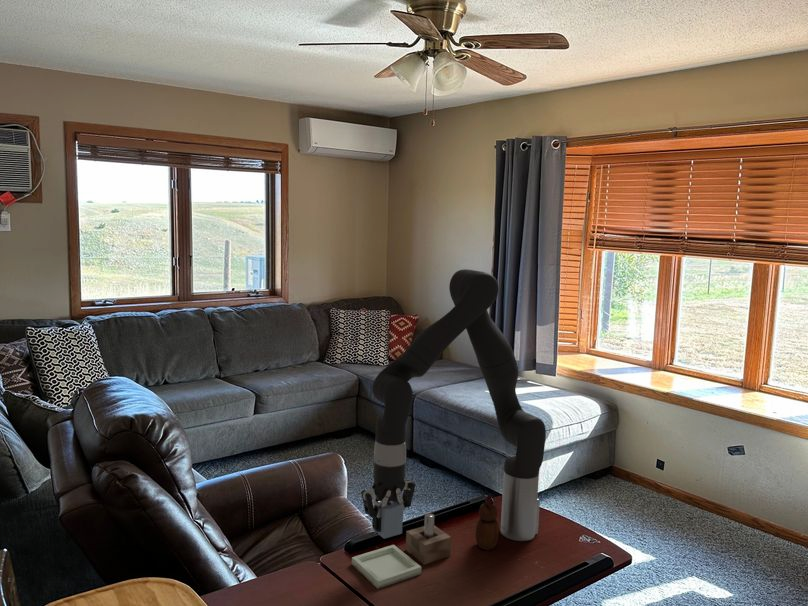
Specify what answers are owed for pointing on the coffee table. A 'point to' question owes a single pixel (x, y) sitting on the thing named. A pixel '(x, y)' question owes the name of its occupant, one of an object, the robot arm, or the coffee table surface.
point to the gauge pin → (429, 526)
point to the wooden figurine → (487, 525)
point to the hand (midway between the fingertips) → (387, 527)
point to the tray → (386, 566)
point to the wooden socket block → (428, 545)
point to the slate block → (391, 520)
